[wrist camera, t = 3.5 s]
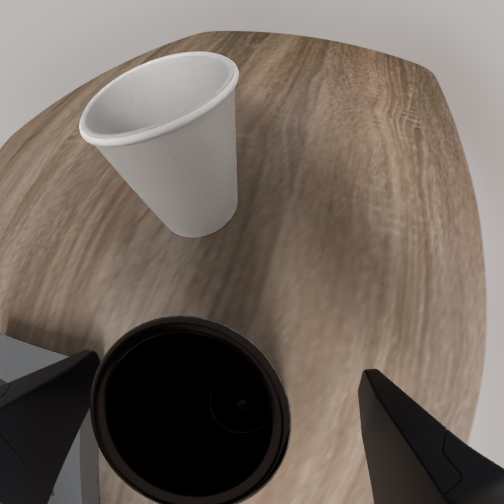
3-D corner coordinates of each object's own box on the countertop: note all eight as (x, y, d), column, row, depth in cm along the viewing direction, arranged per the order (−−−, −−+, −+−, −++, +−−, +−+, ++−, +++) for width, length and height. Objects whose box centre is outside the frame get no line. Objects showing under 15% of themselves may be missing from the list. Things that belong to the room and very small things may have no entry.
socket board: (109, 572, 7) (96, 581, 5) (6, 507, 8) (-8, 509, 7) (103, 365, 15) (85, 360, 14) (5, 335, 17) (-11, 328, 15)
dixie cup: (153, 272, 18) (65, 169, 9) (142, 184, 22) (89, 86, 13) (274, 231, 19) (263, 96, 10) (238, 151, 23) (217, 40, 14)
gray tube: (223, 452, 13) (136, 526, 4) (189, 382, 15) (67, 355, 6) (300, 419, 13) (331, 467, 4) (262, 349, 15) (230, 279, 6)
